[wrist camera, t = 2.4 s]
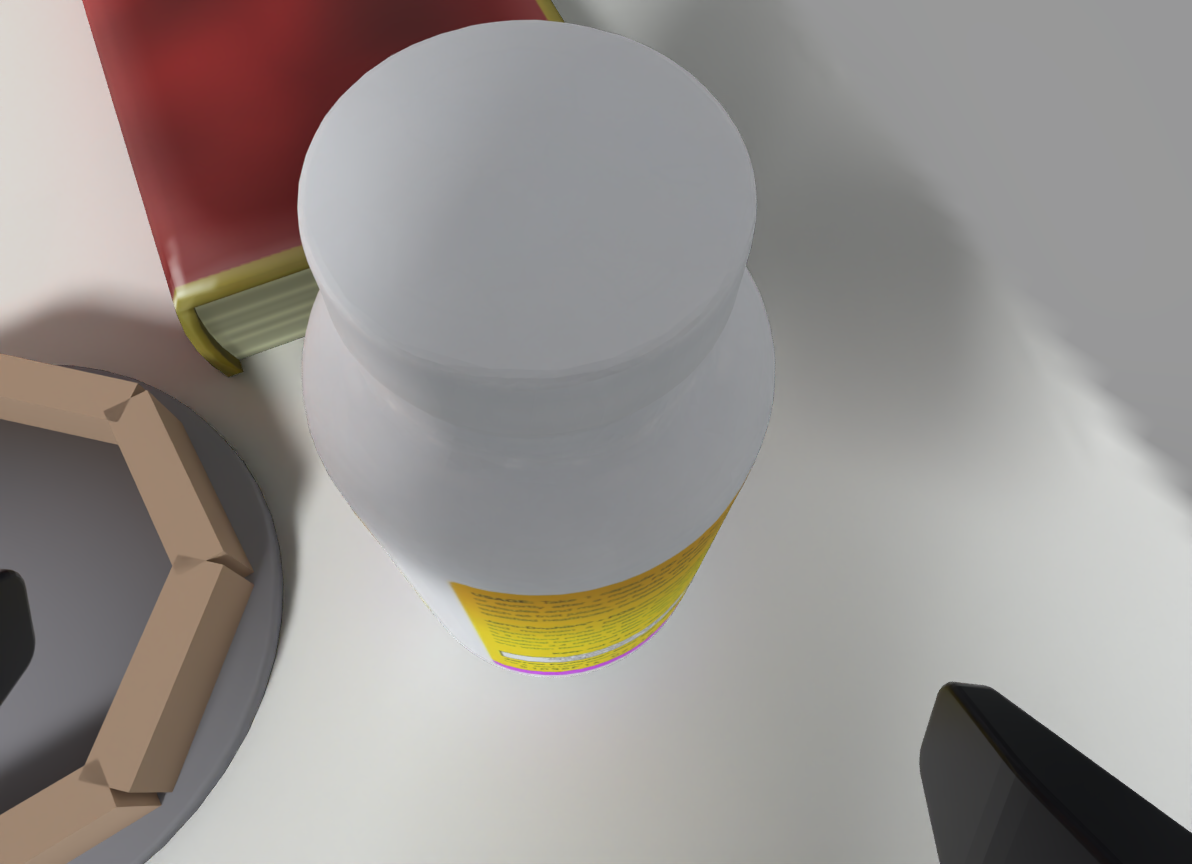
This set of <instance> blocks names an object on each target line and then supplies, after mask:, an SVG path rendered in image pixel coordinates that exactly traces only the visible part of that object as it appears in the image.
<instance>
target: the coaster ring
mask: <svg viewBox="0 0 1192 864" xmlns="http://www.w3.org/2000/svg"><path fill="white" fill-rule="evenodd" d="M0 568H2V569H11V570H14V571H15V572H17V573H19V574H20V575H21V577H22V578H23V579H24V581H25V585H26V589H27V594H28V600H29V605H30V611H31V616H32V621H33V627H34V632H35V639H36V645H35V651H34V655H33V658H32V660H31V662H30V664H29V666H28V668H27V669H26V671H25V672H24V674H23V675H22V677H21V678H20V679H19V681H18V682H17V684H16V685H15V687H14V688H13V689H12V691H11V692H10V694H9V695H8V697H7V698H6V699H5V701H4V702H3V704H2V705H1V707H0V864H144V863H145V862H147V861H148V860H149V859H150V858H151V857H152V856H153V855H155V854H156V853H157V852H158V851H159V850H160V849H161V848H162V847H164V846H165V845H166V844H167V842H168V841H169V840H170V839H171V838H172V837H173V836H174V835H175V834H176V833H177V832H178V830H179V829H180V828H181V827H182V826H183V825H184V824H185V823H186V822H187V821H188V819H189V818H190V817H191V816H192V815H193V814H194V813H195V812H196V811H197V810H198V808H199V807H200V805H201V804H202V803H203V801H204V800H205V799H206V797H207V796H208V795H209V793H210V792H211V790H212V789H213V788H214V786H215V785H216V784H217V782H218V781H219V779H220V778H221V777H222V775H223V774H224V773H225V771H226V769H227V767H228V766H229V764H230V762H231V761H232V759H233V757H234V755H235V754H236V752H237V750H238V748H239V747H240V745H241V743H242V741H243V740H244V738H245V736H246V735H247V732H248V730H249V728H250V725H251V723H252V721H253V719H254V716H255V714H256V712H257V709H258V707H259V705H260V703H261V700H262V698H263V696H264V692H265V689H266V686H267V682H268V679H269V676H270V673H271V669H272V666H273V663H274V659H275V655H276V650H277V644H278V638H279V632H280V627H281V621H282V601H283V576H282V566H281V555H280V548H279V544H278V540H277V536H276V532H275V527H274V523H273V519H272V516H271V514H270V512H269V509H268V507H267V504H266V502H265V499H264V497H263V495H262V492H261V490H260V488H259V486H258V485H257V483H256V481H255V480H254V478H253V476H252V475H251V473H250V472H249V470H248V468H247V467H246V465H245V463H244V462H243V461H242V460H241V459H240V457H239V456H238V455H237V454H236V453H235V452H234V450H233V449H232V448H231V447H230V446H229V445H228V443H227V442H226V441H225V440H224V439H223V438H222V437H221V436H220V435H219V434H218V433H217V432H216V431H215V430H214V429H213V428H212V427H211V426H210V425H209V424H207V423H206V422H205V421H204V420H203V419H202V418H201V417H199V416H198V415H197V414H196V413H195V412H194V411H192V410H191V409H190V408H189V407H187V406H185V405H184V404H182V403H181V402H179V401H177V400H176V399H174V398H173V397H171V396H169V395H168V394H166V393H165V392H163V391H161V390H158V389H156V388H154V387H151V386H149V385H147V384H145V383H142V382H140V381H138V380H136V379H132V378H129V377H125V376H122V375H118V374H115V373H111V372H108V371H104V370H97V369H91V368H84V367H78V366H68V365H52V364H47V363H42V362H38V361H33V360H29V359H24V358H19V357H15V356H10V355H5V354H1V353H0Z"/></svg>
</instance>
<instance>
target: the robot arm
mask: <svg viewBox="0 0 1192 864" xmlns="http://www.w3.org/2000/svg"><path fill="white" fill-rule="evenodd" d="M35 645H36V639H35V632H34V627H33V621H32V616H31V611H30V605H29V600H28V594H27V589H26V585H25V581H24V579H23V578H22V577H21V575H20V574H19V573H17V572H15V571H14V570H11V569H2V568H0V707H1V705H2V704H3V702H4V701H5V699H6V698H7V697H8V695H9V694H10V692H11V691H12V689H13V688H14V687H15V685H16V684H17V682H18V681H19V679H20V678H21V677H22V675H23V674H24V672H25V671H26V669H27V668H28V666H29V664H30V662H31V660H32V658H33V655H34V651H35ZM919 765H920V774H921V779H922V784H923V788H924V793H925V798H926V802H927V807H928V811H929V816H930V821H931V825H932V830H933V834H934V839H935V844H936V848H937V853H938V857H939V862H940V864H1192V833H1191V832H1189V831H1188V830H1187V829H1185V828H1184V827H1183V826H1181V825H1180V824H1178V823H1177V822H1176V821H1174V820H1173V819H1172V818H1170V817H1169V816H1167V815H1166V814H1165V813H1163V812H1162V811H1161V810H1159V809H1158V808H1156V807H1155V806H1154V805H1152V804H1151V803H1150V802H1148V801H1147V800H1145V799H1144V798H1143V797H1141V796H1140V795H1139V794H1137V793H1136V792H1134V791H1133V790H1132V789H1130V788H1129V787H1128V786H1126V785H1125V784H1123V783H1122V782H1121V781H1119V780H1118V779H1117V778H1115V777H1114V776H1112V775H1111V774H1110V773H1108V772H1107V771H1106V770H1104V769H1103V768H1101V767H1100V766H1099V765H1097V764H1096V763H1095V762H1093V761H1092V760H1090V759H1089V758H1088V757H1086V756H1085V755H1084V754H1082V753H1081V752H1079V751H1078V750H1077V749H1075V748H1074V747H1073V746H1071V745H1070V744H1069V743H1067V742H1066V741H1064V740H1063V739H1062V738H1060V737H1059V736H1058V735H1056V734H1055V733H1053V732H1052V731H1051V730H1049V729H1048V728H1047V727H1045V726H1044V725H1042V724H1041V723H1040V722H1038V721H1037V720H1036V719H1034V718H1033V717H1031V716H1030V715H1029V714H1027V713H1026V712H1025V711H1023V710H1022V709H1020V708H1019V707H1018V706H1016V705H1015V704H1014V703H1012V702H1011V701H1009V700H1008V699H1007V698H1005V697H1004V696H1003V695H1001V694H1000V693H998V692H997V691H996V690H994V689H993V688H991V687H988V686H985V685H976V684H968V683H959V682H948V683H946V684H945V685H943V686H942V688H941V689H940V690H939V693H938V695H937V698H936V701H935V704H934V707H933V710H932V713H931V717H930V720H929V723H928V726H927V729H926V732H925V736H924V739H923V742H922V745H921V749H920V760H919Z"/></svg>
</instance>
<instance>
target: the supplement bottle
mask: <svg viewBox="0 0 1192 864" xmlns="http://www.w3.org/2000/svg"><path fill="white" fill-rule="evenodd" d="M297 209H298V223H299V231H300V237H301V242H302V246H303V249H304V252H305V255H306V259H307V262H308V264H309V267H310V269H311V271H312V273H313V276H314V278H315V280H316V282H317V285H318V287H319V289H320V290H319V292H318V294H317V296H316V299H315V302H314V304H313V307H312V310H311V313H310V317H309V321H308V325H307V329H306V334H305V339H304V346H303V354H302V388H303V401H304V406H305V410H306V415H307V420H308V425H309V429H310V433H311V436H312V439H313V441H314V444H315V446H316V449H317V452H318V454H319V456H320V458H321V460H322V462H323V464H324V466H325V468H326V471H327V473H328V475H329V476H330V478H331V479H332V481H333V482H334V484H335V485H336V487H337V488H338V490H339V491H340V493H341V494H342V496H343V497H344V498H345V500H346V501H347V502H348V504H349V505H350V507H351V508H352V510H353V511H354V513H355V514H356V515H357V516H358V518H359V519H360V520H361V521H362V523H363V524H364V525H365V526H366V528H367V529H368V530H369V531H370V532H371V534H372V535H373V536H374V537H375V539H376V540H377V541H378V542H379V544H380V545H381V546H382V547H383V549H384V550H385V551H386V552H387V554H388V555H389V556H390V558H391V559H392V561H393V562H394V563H395V565H396V566H397V567H398V569H399V570H400V571H401V573H402V574H403V575H404V577H405V578H406V579H407V580H408V582H409V583H410V584H411V586H412V587H413V588H414V590H415V591H416V592H417V594H418V595H419V596H420V597H421V599H422V600H423V601H424V603H425V604H426V605H427V607H428V608H429V609H430V610H431V612H432V613H433V614H434V615H435V616H436V618H437V619H438V620H439V621H440V622H441V624H442V625H443V626H444V627H445V629H446V630H447V631H448V632H449V633H450V634H451V635H452V636H453V637H454V638H455V639H456V640H457V641H458V642H459V643H460V644H461V645H462V646H464V647H465V648H466V649H468V650H469V651H470V652H472V653H473V654H475V655H476V656H478V657H480V658H481V659H483V660H485V661H487V662H489V663H491V664H493V665H495V666H497V667H500V668H502V669H505V670H508V671H512V672H515V673H519V674H523V675H527V676H536V677H548V678H554V677H571V676H576V675H582V674H587V673H590V672H594V671H597V670H599V669H602V668H605V667H607V666H610V665H613V664H614V663H616V662H618V661H620V660H622V659H624V658H626V657H627V656H629V655H630V654H632V653H634V652H635V651H636V650H638V649H639V648H641V647H642V646H643V645H644V644H646V643H647V642H648V641H649V640H650V639H651V638H652V637H653V636H654V635H655V634H656V633H657V632H658V631H659V630H660V629H661V627H662V626H663V625H664V624H665V623H666V622H667V620H668V619H669V618H670V616H671V615H672V613H673V612H674V610H675V609H676V607H677V606H678V604H679V602H680V601H681V599H682V597H683V596H684V594H685V592H686V590H687V588H688V587H689V585H690V583H691V582H692V580H693V578H694V576H695V574H696V572H697V570H698V568H699V567H700V565H701V563H702V561H703V559H704V557H705V555H706V553H707V551H708V549H709V548H710V546H711V544H712V542H713V540H714V538H715V536H716V534H717V532H718V530H719V528H720V527H721V525H722V523H723V521H724V519H725V517H726V515H727V514H728V512H729V510H730V508H731V506H732V504H733V502H734V500H735V499H736V497H737V495H738V493H739V491H740V490H741V488H742V486H743V484H744V482H745V480H746V478H747V476H748V474H749V472H750V470H751V468H752V466H753V464H754V462H755V459H756V457H757V455H758V452H759V450H760V447H761V445H762V442H763V439H764V436H765V433H766V430H767V427H768V423H769V419H770V415H771V410H772V405H773V398H774V387H775V352H774V344H773V338H772V333H771V328H770V324H769V320H768V316H767V313H766V309H765V306H764V303H763V300H762V296H761V294H760V292H759V290H758V288H757V286H756V284H755V282H754V280H753V278H752V276H751V274H750V272H749V270H748V269H747V267H746V263H747V260H748V257H749V254H750V250H751V246H752V240H753V235H754V229H755V224H756V213H757V198H756V184H755V177H754V171H753V167H752V164H751V160H750V157H749V154H748V151H747V148H746V145H745V143H744V141H743V139H742V137H741V135H740V133H739V130H738V129H737V127H736V126H735V124H734V123H733V121H732V119H731V118H730V116H729V115H728V113H727V112H726V110H725V109H724V108H723V106H722V105H721V104H720V103H719V102H718V100H717V99H716V98H715V97H714V96H713V95H712V94H711V93H710V91H709V90H708V89H707V88H706V87H705V86H704V85H703V84H702V83H701V82H699V81H698V80H697V79H696V78H695V77H694V76H693V75H692V74H691V73H689V72H688V71H687V70H685V69H684V68H682V67H681V66H679V65H678V64H677V63H675V62H674V61H672V60H671V59H669V58H668V57H666V56H664V55H662V54H661V53H659V52H657V51H655V50H654V49H652V48H650V47H648V46H646V45H643V44H641V43H639V42H636V41H634V40H632V39H629V38H627V37H624V36H621V35H619V34H614V33H610V32H606V31H602V30H599V29H595V28H591V27H586V26H582V25H576V24H571V23H563V22H554V21H545V20H510V21H500V22H491V23H484V24H478V25H472V26H468V27H465V28H461V29H458V30H454V31H450V32H446V33H442V34H439V35H437V36H434V37H431V38H429V39H426V40H423V41H421V42H418V43H416V44H413V45H411V46H409V47H407V48H405V49H403V50H401V51H399V52H398V53H396V54H394V55H392V56H390V57H388V58H387V59H386V60H384V61H383V62H381V63H380V64H378V65H377V66H375V67H374V68H373V69H371V70H370V71H368V72H367V73H365V74H364V75H363V76H362V77H361V78H360V79H359V80H358V81H357V82H356V83H355V84H354V85H352V86H351V87H350V88H349V89H348V90H347V91H346V92H345V93H344V94H343V95H342V96H341V97H340V98H339V99H338V101H337V102H336V103H335V104H334V106H333V107H332V108H331V109H330V111H329V112H328V113H327V115H326V116H325V117H324V119H323V121H322V122H321V124H320V126H319V128H318V130H317V131H316V133H315V135H314V137H313V139H312V142H311V144H310V146H309V149H308V151H307V153H306V157H305V160H304V164H303V168H302V172H301V176H300V180H299V188H298V205H297Z"/></svg>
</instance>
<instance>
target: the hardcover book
mask: <svg viewBox="0 0 1192 864" xmlns="http://www.w3.org/2000/svg"><path fill="white" fill-rule="evenodd" d="M82 1H83V4H84V8H85V11H86V14H87V18H88V21H89V24H90V28H91V31H92V34H93V38H94V41H95V44H96V48H97V51H98V54H99V58H100V61H101V64H102V68H103V71H104V74H105V78H106V81H107V84H108V88H109V91H110V94H111V97H112V101H113V104H114V107H115V111H116V114H117V117H118V121H119V124H120V127H121V131H122V134H123V137H124V141H125V144H126V147H127V151H128V154H129V157H130V161H131V164H132V167H133V171H134V174H135V177H136V181H137V184H138V187H139V190H140V194H141V197H142V200H143V204H144V207H145V210H146V214H147V217H148V220H149V224H150V227H151V230H152V234H153V237H154V240H155V244H156V247H157V250H158V254H159V257H160V260H161V264H162V267H163V270H164V274H165V277H166V280H167V284H168V287H169V290H170V293H171V297H172V300H173V303H174V307H175V310H176V313H177V316H178V318H179V320H180V323H181V325H182V327H183V330H184V332H185V334H186V336H187V337H188V338H189V340H190V341H191V343H192V344H193V346H194V347H195V349H196V350H197V351H198V352H199V353H200V354H201V355H202V356H203V357H204V358H205V359H206V360H207V361H208V362H209V363H210V364H211V365H212V366H213V367H215V368H216V369H218V370H219V371H221V372H222V373H223V374H225V375H226V376H228V377H230V376H233V375H236V374H239V373H241V372H243V369H242V366H241V363H240V360H241V359H243V358H246V357H249V356H252V355H255V354H257V353H260V352H263V351H266V350H269V349H271V348H274V347H277V346H280V345H283V344H285V343H288V342H291V341H294V340H296V339H299V338H302V337H305V334H306V329H307V325H308V321H309V317H310V313H311V310H312V307H313V304H314V302H315V299H316V296H317V294H318V292H319V290H320V289H319V287H318V285H317V282H316V280H315V278H314V276H313V273H312V271H311V269H310V267H309V264H308V262H307V259H306V255H305V252H304V249H303V246H302V242H301V237H300V231H299V223H298V209H297V205H298V188H299V180H300V176H301V172H302V168H303V164H304V160H305V157H306V153H307V151H308V149H309V146H310V144H311V142H312V139H313V137H314V135H315V133H316V131H317V130H318V128H319V126H320V124H321V122H322V121H323V119H324V117H325V116H326V115H327V113H328V112H329V111H330V109H331V108H332V107H333V106H334V104H335V103H336V102H337V101H338V99H339V98H340V97H341V96H342V95H343V94H344V93H345V92H346V91H347V90H348V89H349V88H350V87H351V86H352V85H354V84H355V83H356V82H357V81H358V80H359V79H360V78H361V77H362V76H363V75H364V74H365V73H367V72H368V71H370V70H371V69H373V68H374V67H375V66H377V65H378V64H380V63H381V62H383V61H384V60H386V59H387V58H388V57H390V56H392V55H394V54H396V53H398V52H399V51H401V50H403V49H405V48H407V47H409V46H411V45H413V44H416V43H418V42H421V41H423V40H426V39H429V38H431V37H434V36H437V35H439V34H442V33H446V32H450V31H454V30H458V29H461V28H465V27H468V26H472V25H478V24H484V23H491V22H500V21H510V20H545V21H554V22H563V23H565V22H564V21H563V19H562V17H561V16H560V14H559V13H558V11H557V9H556V8H555V6H554V4H553V3H552V1H551V0H82Z"/></svg>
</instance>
